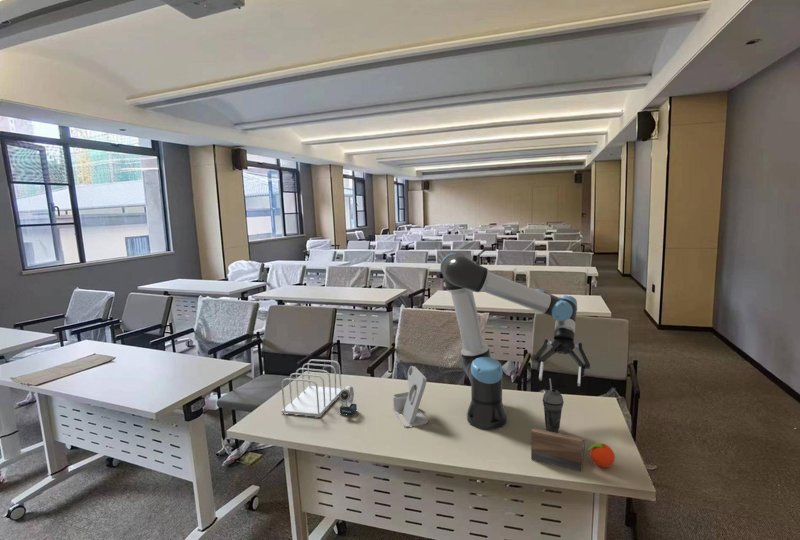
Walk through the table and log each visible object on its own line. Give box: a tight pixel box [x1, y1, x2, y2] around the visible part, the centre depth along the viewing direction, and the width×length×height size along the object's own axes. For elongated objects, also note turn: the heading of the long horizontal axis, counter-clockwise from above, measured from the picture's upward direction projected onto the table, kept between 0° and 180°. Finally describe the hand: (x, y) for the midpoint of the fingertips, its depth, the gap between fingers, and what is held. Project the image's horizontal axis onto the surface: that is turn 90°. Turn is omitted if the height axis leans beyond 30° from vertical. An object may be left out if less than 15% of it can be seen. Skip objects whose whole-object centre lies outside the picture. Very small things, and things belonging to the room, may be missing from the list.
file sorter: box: [281, 359, 344, 418], centre depth 185 cm, size 25×17×16 cm
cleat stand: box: [530, 428, 586, 472], centre depth 142 cm, size 14×15×10 cm
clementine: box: [587, 442, 616, 468], centre depth 135 cm, size 8×7×7 cm
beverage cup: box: [542, 378, 565, 433], centre depth 156 cm, size 7×7×20 cm
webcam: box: [338, 385, 358, 416], centre depth 175 cm, size 6×8×11 cm
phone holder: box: [392, 365, 429, 428], centre depth 171 cm, size 17×10×18 cm, turn 17°
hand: (559, 381), depth 160 cm, fingers open, 13 cm apart
